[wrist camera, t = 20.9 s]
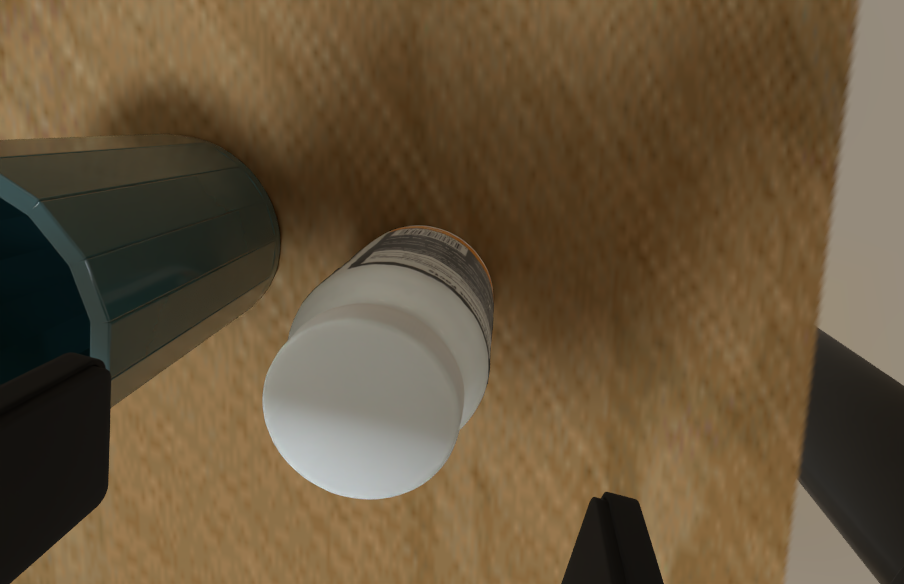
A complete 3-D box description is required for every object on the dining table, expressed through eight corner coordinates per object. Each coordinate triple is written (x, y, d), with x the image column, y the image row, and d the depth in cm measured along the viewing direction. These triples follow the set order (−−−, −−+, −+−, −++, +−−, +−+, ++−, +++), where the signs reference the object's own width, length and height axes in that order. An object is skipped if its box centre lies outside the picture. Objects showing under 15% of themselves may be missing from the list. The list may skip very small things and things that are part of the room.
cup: (291, 159, 21) (112, 191, 12) (270, 339, 24) (105, 488, 14) (101, 115, 21) (-225, 111, 12) (98, 298, 24) (-176, 416, 14)
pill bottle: (412, 382, 23) (344, 558, 14) (324, 275, 22) (188, 387, 13) (523, 308, 22) (532, 449, 13) (436, 190, 21) (373, 247, 12)
